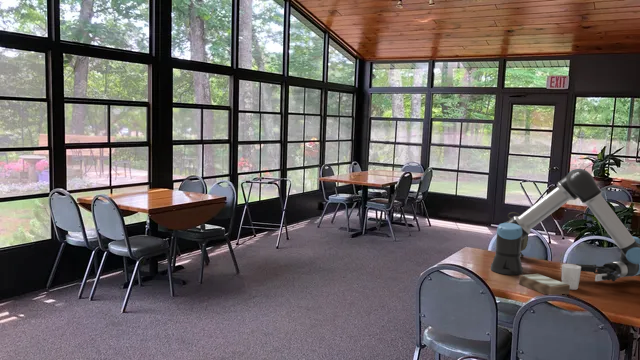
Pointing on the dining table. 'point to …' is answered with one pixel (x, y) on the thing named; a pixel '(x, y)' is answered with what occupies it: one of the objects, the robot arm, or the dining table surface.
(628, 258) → the robot arm
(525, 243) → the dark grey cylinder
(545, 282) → the board
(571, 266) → the white cup
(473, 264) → the dining table surface
